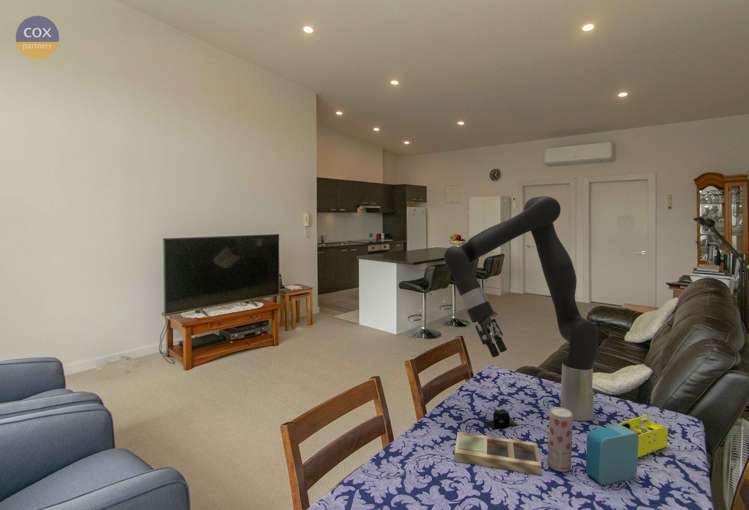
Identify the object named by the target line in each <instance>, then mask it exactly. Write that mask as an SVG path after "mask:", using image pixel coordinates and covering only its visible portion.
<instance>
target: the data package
mask: <svg viewBox="0 0 749 510" xmlns="http://www.w3.org/2000/svg"><path fill="white" fill-rule="evenodd" d="M622 425H623V424H622ZM622 425H619V424H617V425H612V426H608V427H601V428H595V429H590V430H589V432H588V433H587V435H586V450H585V451H586V453H585V455H586V456H585V473H586V474H587V475H588V476H589V477H591V478H592V479H594V481H596V482H598V483H599V484H600V485H602V486H606V485H609V484H613V483H617V482H621V481H626V480H631V479H634V478H635V477H636V475H637V473H638V459H639V457H638V442H639V437H638V435H637V434H636V433H635V432H633V431H631V430H629V429H628V428H626V427H624V426H622Z"/></svg>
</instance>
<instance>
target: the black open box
mask: <svg viewBox="0 0 749 510" xmlns="http://www.w3.org/2000/svg"><path fill="white" fill-rule="evenodd" d="M493 412H494V413H493ZM493 412H492V413H493V415H492V419H491V420H485V421H483V423H484V424H486V425H487V426H488V427H489V428H490V429H492V430H493V431H495V430H502V429H508V428H513V427H514V428H515V427H519V426H520V425H519V424H518V423H516V422H515V421H514V420H513V419H511V415H510V412H508V411H507V410H506V409H505V408H501V409H494V411H493Z"/></svg>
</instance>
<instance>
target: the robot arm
mask: <svg viewBox="0 0 749 510" xmlns="http://www.w3.org/2000/svg"><path fill="white" fill-rule="evenodd" d="M561 210H562V209H561V204H560V203H559V201H558V200H557V199H555V198H554V197H552V196H547V195H544V196H543V195H542V196H535V197H532V198H530V199H528V200H527V201H526V202H525V204H524V206H523V211H522V212H520V213H519V214H517V215H515V216H513V217H511V218H510V219H507V220H505V221H501V222H499V223H497V224H495V225H492V226H490V227H488V228H486V229H484V230H482V231H480V232H479V233H478V232H477V234H475V235H473V236H472V237H470V238H469V239H468V240H467V241H466V242H465V243H464V244H461V245H460V246H456V245H454V246H450V247H448V248H447V249H446V251H444V254H443V260H444V264H445V266H446V268H448V270H449V273H450V274H451V276H452V279H454V283H455V286H456V289H457V291H458V293H459V296H460V298H461V301H462V304H463V306H464V308H465V310H466V312H467V314H468V317H469V319H470V321H471V323H472V324H475V323H477V324H476V325H475V326H474V327H475V330H476V331H477V334H478V336H479V338H480V341H481V343H482V344H481V345H485V346H486V347H487V348H488V350H489V352H490V355H491V357H492V358H496V357H499V356H500V353H504V352H506V351H507V350H508V349H507V346H506V344H505V342H504V340H503V336H504V334H503V331H502V330H501V327H500V326H499V324H498V322H497V319H495V318H492V316H494V314H495V311H494V309H493V307H492V305H491V302H490V301H489V299H488V297H487V294H486V292H485V291H484V290H483V288H482V286H481V285H480V283H479V279H478V278H477V276H476V274H475V273H474V270H473V268H472V265H471V264H472V263H473V262H474V261H475V260H477V259H478V258H479V259H480V257H483V256H485V255H487V254H488V253H490V252H492V251H494V250H496V249H498V248H500V247H502V246H503V245H505V244H507V243H509V242H510V241H512V240H515V239H516V238H518V237H520V236H522V235H524V234H526V233H529V232H531V235H532V238H533V240H534V243H535V248H536V250H537V255H538V258H539V262H540V265H541V269H542V272H543V275H544V278H545V281H546V284H547V287H548V291H549V293H550V297H551V300H552V303H553V307H554V311H555V315H556V321H557V325H558V326H557V327H558V330H559V334H560V335H561V337H562V338H563V339H564V340H565V341H567V342H568V343H569V348H568V352H565V353H563V355H562V357H561V359H562V361H561V384H560V386H561V389H560V405H559V406H560V408H564V409H567V410H569V411H570V412H571V413H572V417H573V421H578V422H587V421H594V420H593V419H594V400H595V393H594V390H593V381H594V380H593V376H594V363H595V362H596V359H597V356H598V355H597V354H598V346H599V331H598V327H597V326H596V324H595V323H594V322H592V321H590V320H588V319H586V318H583V317H582V315H581V314H580V311H579V308H578V305H577V301H576V290H577V281H578V280H577V275H576V270H575V267H574V263H573V260H572V259H571V256H570V255H569V253H568V251H567V249H566V248H565V246H564V245H563V243H562V242H561V240H560V238H559V236H558V235H557V232H556V229H555V225H554V223H555V222H556V221H557V220H558V218H559V217H560V214H561Z"/></svg>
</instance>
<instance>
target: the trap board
mask: <svg viewBox="0 0 749 510" xmlns="http://www.w3.org/2000/svg"><path fill="white" fill-rule="evenodd" d="M456 435H457V436H456V440H455V447H454V453H453V454H454V455H453V456H454V459H453V460H454V462H456V463H457V462H458V463H465V464H472V465H477V466H482V467H488V468H495V469H502V470H507V471H513V472H518V473H525V474H531V475H532V474H533V475H537V476H542V470H543V469H542V467H543V465H542V462H541V461H542V460H541V456H540V452H539V446H538V443H537V442H531V441H525V440H520V439H519V440H518V439H511V438H510V439H509V438H505V437H504V438H502V437H498V436H497V437H496V436H492V435H491V436H490V435H483V434H475V433H471V432H470V433H469V432H462V431H457V433H456Z"/></svg>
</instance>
